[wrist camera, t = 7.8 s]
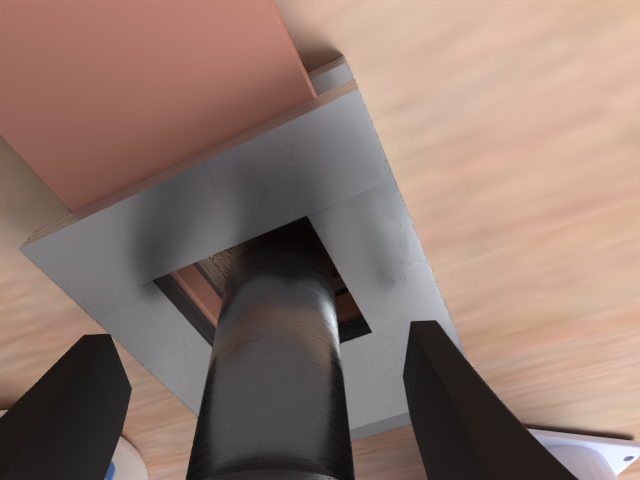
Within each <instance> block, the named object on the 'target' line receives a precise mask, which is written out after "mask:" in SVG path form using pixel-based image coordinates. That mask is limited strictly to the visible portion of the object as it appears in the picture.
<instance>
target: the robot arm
mask: <svg viewBox="0 0 640 480" xmlns="http://www.w3.org/2000/svg"><path fill="white" fill-rule="evenodd" d="M403 381H404V387H405V393H406V399H407V404H408V410H409V415H410V419H411V423H412V426H413V430H414V433H415V436H416V440H417V443H418V447H419V450H420V454H421V457H422V460H423V464H424V467H425V470H426V474H427V477H428V480H619V479H618V478H617V475H618V474H619V473H620V472H622V471H623V470H624V469H625V468H626V467H628V466H629V465H630V464H631V463H632V462H633V461H635V460H636V459H637V458H638V457H639V456H640V443H639V442H637V441H630V440H621V439H613V438H604V437H596V436H587V435H578V434H570V433H561V432H553V431H544V430H536V429H527V428H526V427H525V426H524V425H523V424H522V423H521V422H520V421H519V420H518V419H517V418H516V417H515V416H514V415H513V414H512V413H511V411H510V410H509V409H508V408H507V407H506V406H505V405H504V404H503V403H502V401H501V400H500V399H499V398H498V397H497V396H496V394H495V393H494V392H493V391H492V390H491V389H490V387H489V386H488V385H487V384H486V383H485V382H484V380H483V379H482V378H481V377H480V376H479V374H478V373H477V372H476V371H475V370H474V368H473V367H472V366H471V365H470V363H469V362H468V361H467V359H466V358H465V357H464V356H463V354H462V353H461V352H460V351H459V349H458V348H457V347H456V345H455V344H454V343H453V341H452V340H451V339H450V337H449V336H448V335H447V333H446V332H445V331H444V329H443V328H442V327H441V325H440V324H439V323H438V322H437V321H436V320H427V321H411V323H410V329H409V336H408V343H407V350H406V357H405V364H404V371H403ZM131 391H132V388H131V385H130V383H129V380H128V378H127V375H126V373H125V370H124V368H123V365H122V363H121V360H120V358H119V355H118V353H117V350H116V348H115V345H114V343H113V340H112V337H111V335H110V334H94V335H84V336H83V337H81V338H80V339H79V340H78V341H77V342H76V343H75V344H74V345H73V346H72V347H71V348H70V349H69V350H68V351H67V352H66V353H65V354H64V355H63V356H62V357H61V358H60V359H59V360H58V361H57V362H56V363H55V364H54V365H53V366H52V367H51V368H50V369H49V370H48V371H47V372H46V373H45V374H44V375H43V376H42V377H41V378H40V379H39V380H38V381H37V382H36V383H35V384H34V385H33V386H32V387H31V388H30V389H29V390H28V391H27V392H26V393H25V394H24V395H23V396H22V397H21V398H20V399H19V400H18V401H17V402H16V403H15V404H14V405H13V406H12V407H11V408H10V409H9V410H8V411H7V412H6V413H5V414H4V415H3V416H2V417H0V480H104V479H105V476H106V474H107V471H108V468H109V466H110V463H111V460H112V457H113V455H114V452H115V449H116V446H117V444H118V441H119V438H120V435H121V432H122V429H123V425H124V421H125V417H126V413H127V409H128V404H129V400H130V395H131Z"/></svg>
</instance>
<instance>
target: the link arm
mask: <svg viewBox="0 0 640 480" xmlns="http://www.w3.org/2000/svg"><path fill="white" fill-rule="evenodd" d="M315 97H317V94H316V92H315V90H314V88H313V86H312V83H311V81H310V79H309V77H308V75H307V73H306V70H305V68H304V66H303V64H302V62H301V60H300V57H299V55H298V53H297V51H296V49H295V46H294V44H293V42H292V40H291V38H290V36H289V33H288V31H287V29H286V27H285V25H284V23H283V20H282V18H281V16H280V14H279V12H278V10H277V7H276V5H275V3H274V1H273V0H0V136H1V137H2V138H3V139H4V140H5V141H6V142H7V143H8V144H9V145H10V146H11V147H12V149H13V150H14V151H15V152H16V153H17V154H18V155H19V156H20V157H21V158H22V159H23V160H24V161H25V163H26V164H27V165H28V166H29V167H30V168H31V169H32V170H33V171H34V172H35V173H36V174H37V176H38V177H39V178H40V179H41V180H42V181H43V182H44V183H45V184H46V185H47V186H48V187H49V189H50V190H51V191H52V192H53V193H54V194H55V195H56V196H57V197H58V198H59V199H60V200H61V201H62V203H63V204H64V205H65V206H66V207H67V208H68V209H69V210H70V211H71V212H72V213H74V212H76V211H79V210H81V209H83V208H85V207H87V206H89V205H91V204H93V203H95V202H97V201H99V200H102V199H104V198H106V197H108V196H110V195H112V194H114V193H116V192H118V191H120V190H122V189H125V188H127V187H129V186H131V185H133V184H135V183H137V182H139V181H141V180H143V179H145V178H147V177H150V176H152V175H154V174H156V173H158V172H160V171H162V170H164V169H166V168H168V167H170V166H173V165H175V164H177V163H179V162H181V161H183V160H185V159H187V158H189V157H191V156H193V155H196V154H198V153H200V152H202V151H204V150H206V149H208V148H210V147H212V146H214V145H216V144H219V143H221V142H223V141H225V140H227V139H229V138H231V137H233V136H235V135H237V134H239V133H242V132H244V131H246V130H248V129H250V128H252V127H254V126H256V125H258V124H260V123H262V122H265V121H267V120H269V119H271V118H273V117H275V116H277V115H279V114H281V113H283V112H285V111H288V110H290V109H292V108H294V107H296V106H298V105H300V104H302V103H304V102H306V101H308V100H310V99H313V98H315ZM169 274H170V275H171V276H172V277H173V278H174V279H175V281H176V282H177V283H178V284H179V285H180V286H181V288H182V289H183V290H184V291H185V292H186V294H187V295H188V296H189V297H190V298H191V299H192V301H193V302H194V303H195V304H196V305H197V306H198V308H199V309H200V310H201V311H202V312H203V313H204V315H205V316H206V317H207V318H208V319H209V320H210V322H211V323H212V324H213V325H214V326H215V327H216V328H217V323H218V318H219V313H220V308H221V303H222V300H221V298H220V297H219V296H218V295H217V293H216V292H215V291H214V290H213V288H212V287H211V286H210V285H209V283H208V282H207V281H206V280H205V278H204V277H203V276H202V275H201V273H200V272H199V271H198V270H197V268H196V267H195V266H194V265H193V263H192V264H190V265H188V266H185V267H183V268H181V269H178V270H176V271H173V272H171V273H169ZM335 303H336V312H337V321H338V324H341V323H344V322H347V321H350V320H352V319H355V318H358V317H361V316H363V314H362V313H361V311H360V309H359V307H358V306H357V304H356V302H355V300H354V298H353V297H352V295H351V293H350V292H347V293H344V294H342V295H339V296H336V297H335Z"/></svg>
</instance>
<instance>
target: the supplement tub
mask: <svg viewBox="0 0 640 480" xmlns="http://www.w3.org/2000/svg"><path fill="white" fill-rule="evenodd" d="M7 411H8V410H1V411H0V417H2V416H3V415H4V414H5V413H6V412H7ZM104 480H148V473H147V468H146V466H145V463H144V461H143V459H142V457H141V456H140V454H139V453H138V451H137V450H136V449H135V448H134V447H133V446H132V445H131V444H130V443H129V442H128V441H127V440H125V439H124V438H123V437H121V436H120V438H119V441H118V444H117V446H116V449H115V452H114V455H113V457H112V460H111V463H110V466H109V468H108V471H107V474H106V476H105V479H104Z"/></svg>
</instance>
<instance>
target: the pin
mask: <svg viewBox="0 0 640 480" xmlns="http://www.w3.org/2000/svg"><path fill="white" fill-rule="evenodd" d="M186 480H355V474H354V465H353V456H352V447H351V438H350V429H349V420H348V411H347V402H346V393H345V384H344V375H343V366H342V357H341V348H340V339H339V330H338V321H337V312H336V303H335V294H334V285H333V276H332V267H331V258H330V256H329V254H328V252H327V250H326V249H325V247H324V245H323V243H322V241H321V240H320V238H319V236H318V234H317V233H316V231H315V229H314V227H313V225H312V224H311V222H310V220H309V218H308V217H307V215H306V216H304V217H302V218H299V219H297V220H295V221H292V222H290V223H287V224H285V225H283V226H280V227H278V228H276V229H273V230H271V231H268V232H266V233H264V234H261V235H259V236H257V237H254V238H252V239H249V240H247V241H245V242H242V243H240V244H238V245H235V246H233V249H232V254H231V259H230V264H229V268H228V273H227V278H226V283H225V288H224V293H223V298H222V303H221V308H220V313H219V318H218V323H217V328H216V332H215V337H214V342H213V347H212V352H211V357H210V362H209V367H208V372H207V377H206V382H205V387H204V392H203V396H202V401H201V406H200V411H199V416H198V421H197V426H196V431H195V436H194V441H193V446H192V451H191V456H190V460H189V465H188V470H187V475H186Z"/></svg>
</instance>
